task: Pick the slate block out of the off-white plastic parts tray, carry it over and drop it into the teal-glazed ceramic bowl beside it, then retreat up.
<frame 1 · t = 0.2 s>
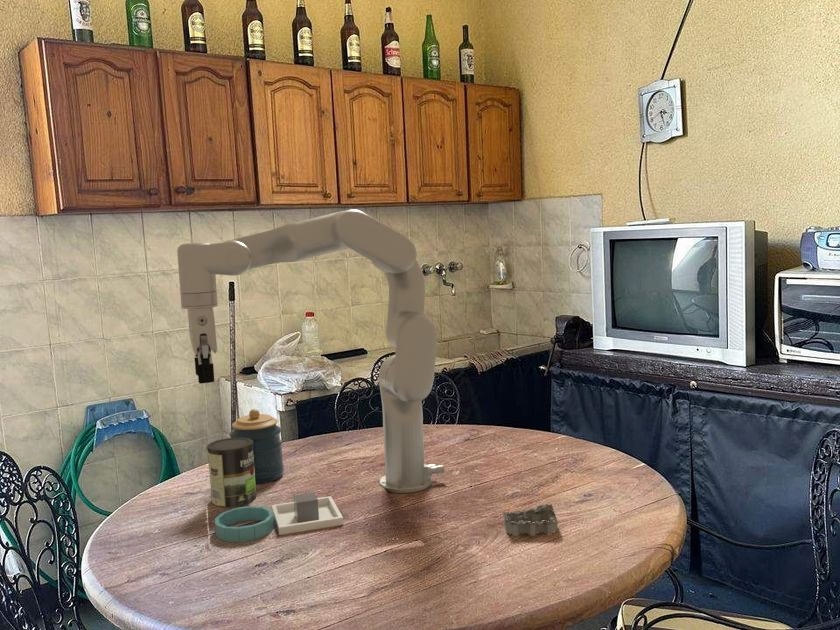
hand: (204, 378, 158), 31 cm above the table, fingers open, 9 cm apart
slate block: (306, 517, 155), point 1 cm above the table, touching parts tray
canister: (258, 477, 186), on the table
bowl: (245, 533, 151), on the table
parts tray: (306, 521, 155), on the table
egg carton: (530, 530, 147), on the table
coffee can: (234, 503, 168), on the table
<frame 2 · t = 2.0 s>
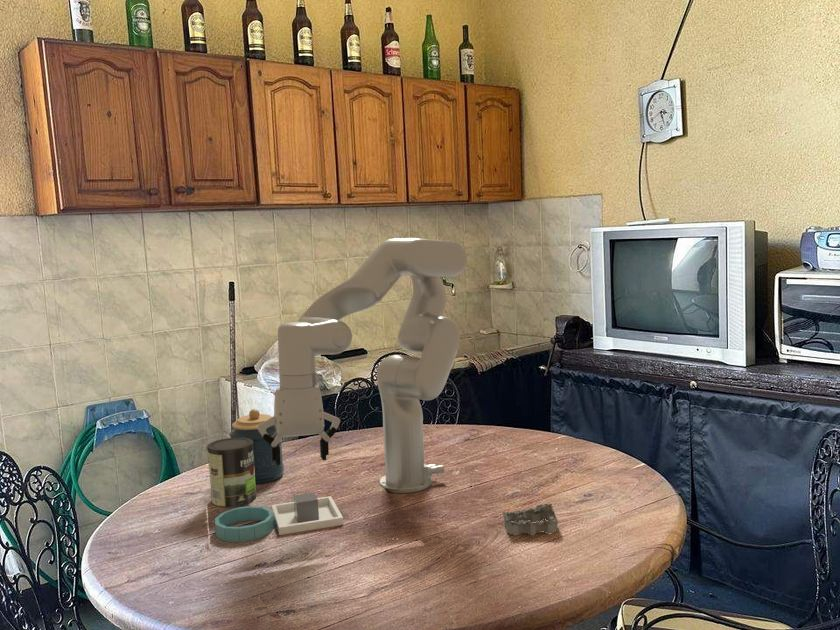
hand: (300, 461, 153), 13 cm above the table, fingers open, 9 cm apart
nothing on the table moved.
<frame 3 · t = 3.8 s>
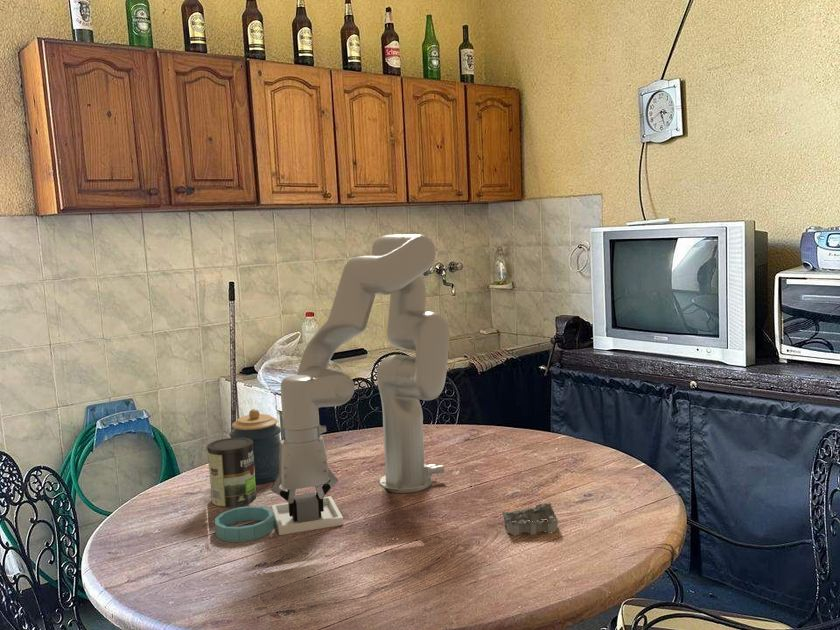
hand: (306, 516, 155), 1 cm above the table, fingers closed on slate block, 4 cm apart
slate block: (306, 517, 155), point 1 cm above the table, touching gripper, parts tray
everything else where it was.
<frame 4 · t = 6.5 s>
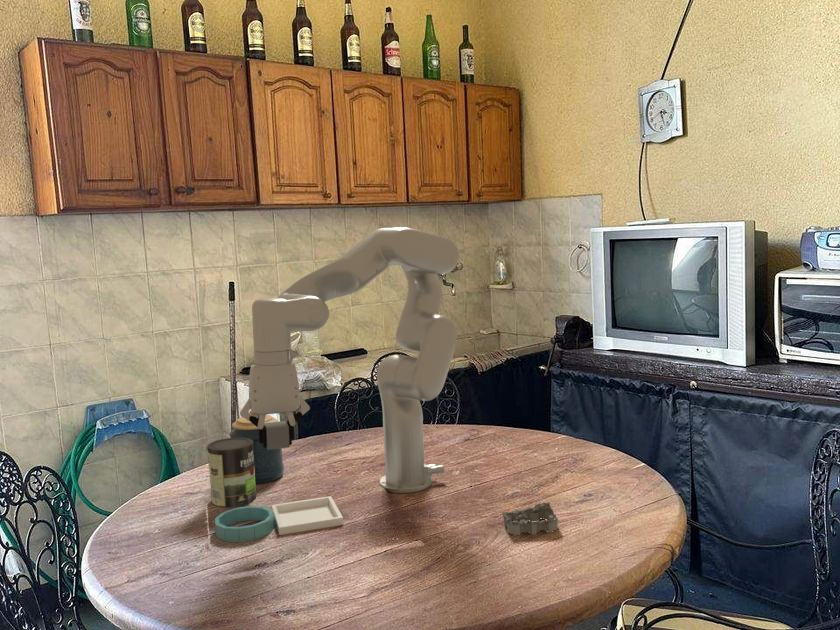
hand: (276, 443, 151), 18 cm above the table, fingers closed on slate block, 4 cm apart
slate block: (277, 445, 151), point 18 cm above the table, touching gripper
everything else where it was.
when the fingers open (4 cm above the table, at t = 9.5 s): slate block drops 3 cm, resting on bowl.
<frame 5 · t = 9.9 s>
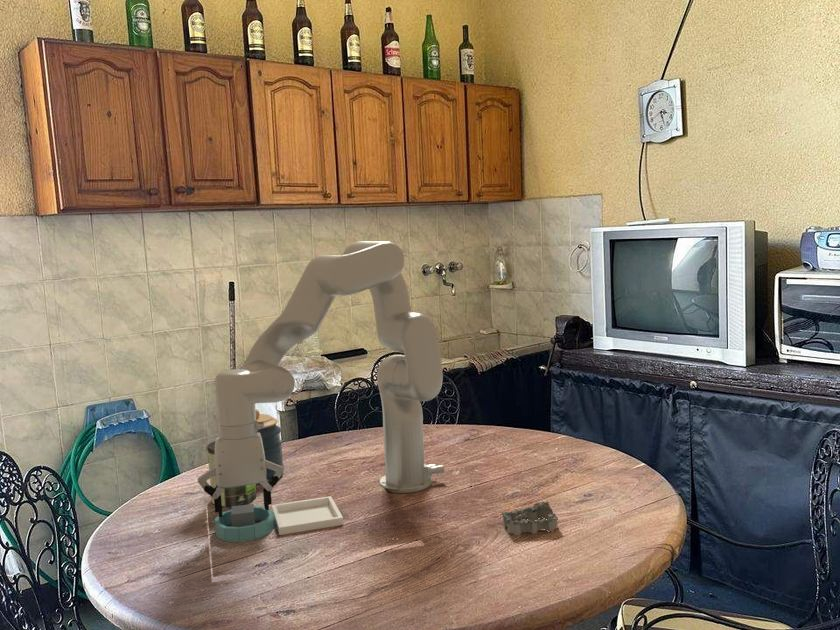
hand: (243, 511, 150), 5 cm above the table, fingers open, 9 cm apart
slate block: (244, 529, 151), point 1 cm above the table, touching bowl
everything else where it was.
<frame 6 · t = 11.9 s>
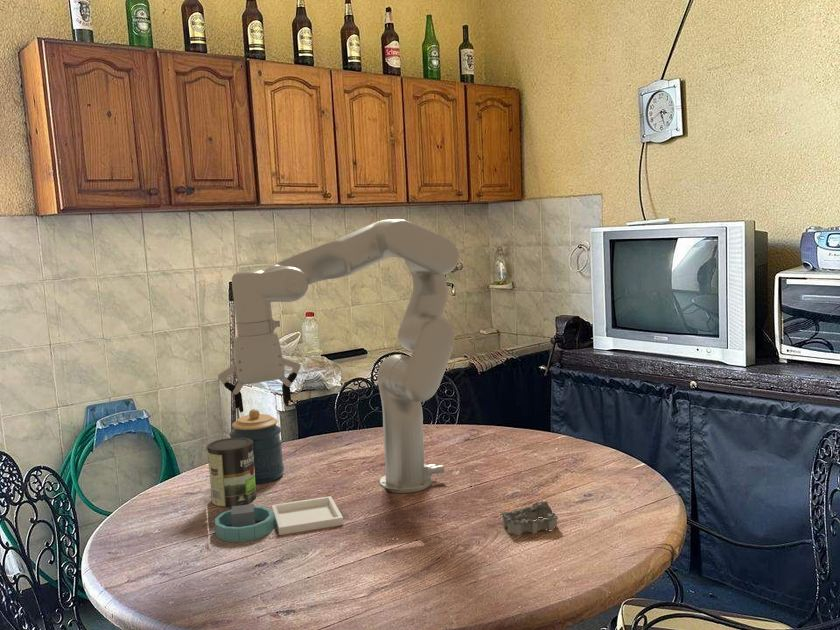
hand: (263, 407, 156), 24 cm above the table, fingers open, 9 cm apart
nothing on the table moved.
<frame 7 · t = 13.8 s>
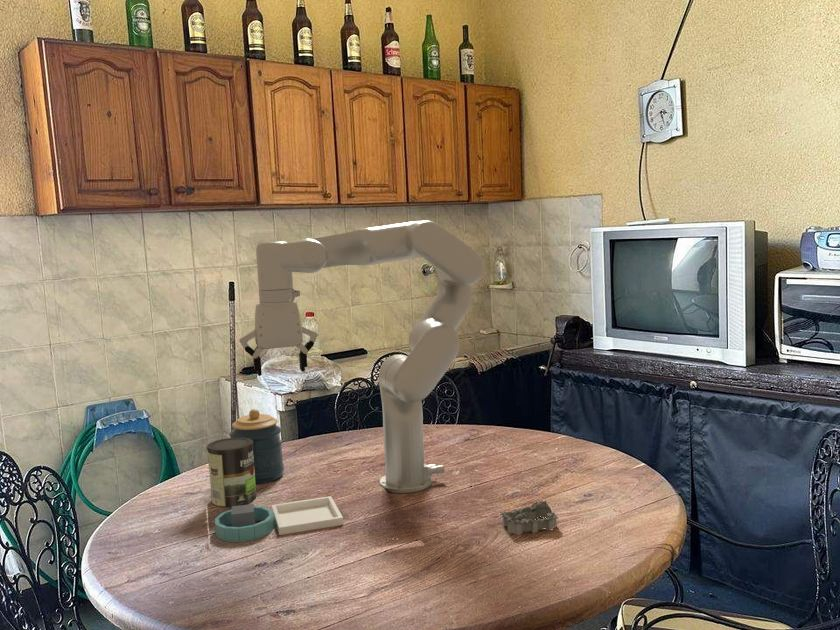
hand: (281, 372, 164), 30 cm above the table, fingers open, 9 cm apart
at the end: slate block inside the target area on the bowl (0.4 cm from its centre), point 0.6 cm above the bowl's base; the gripper is holding nothing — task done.
